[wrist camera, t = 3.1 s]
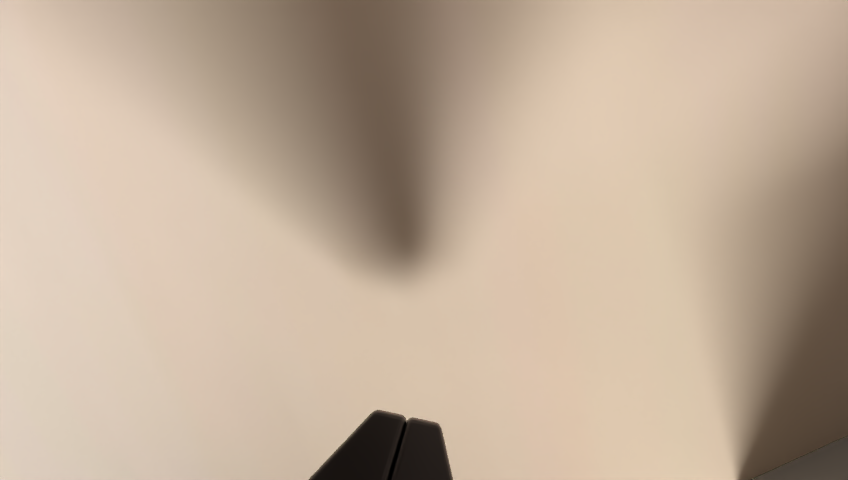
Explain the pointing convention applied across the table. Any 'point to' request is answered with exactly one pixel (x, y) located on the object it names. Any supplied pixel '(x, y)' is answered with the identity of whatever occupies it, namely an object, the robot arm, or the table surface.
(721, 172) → the table surface
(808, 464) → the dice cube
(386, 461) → the robot arm
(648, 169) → the table surface
